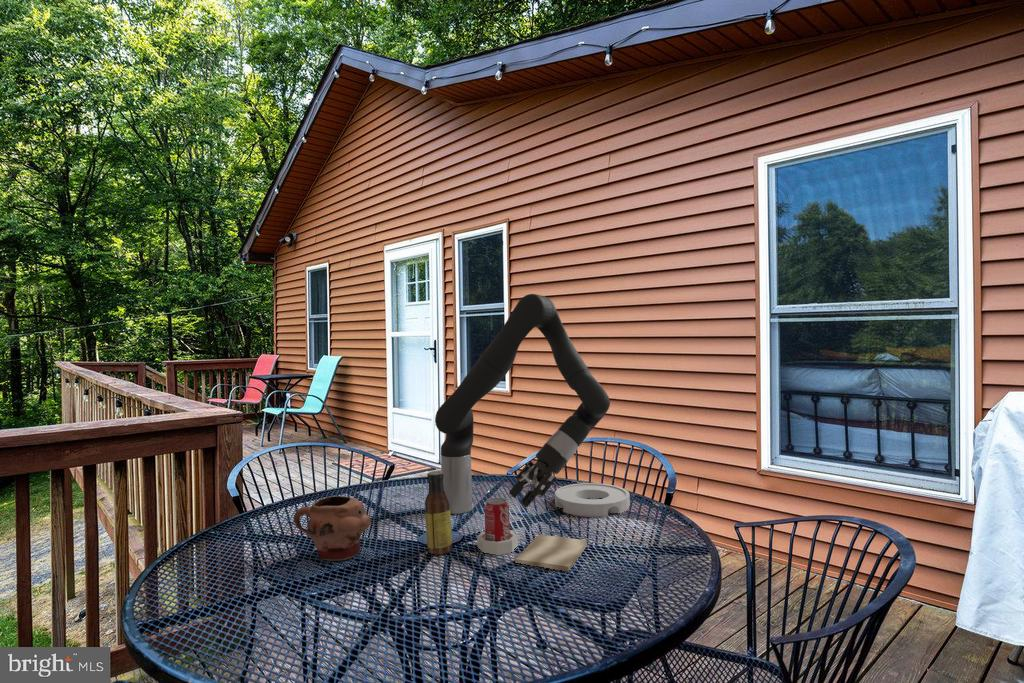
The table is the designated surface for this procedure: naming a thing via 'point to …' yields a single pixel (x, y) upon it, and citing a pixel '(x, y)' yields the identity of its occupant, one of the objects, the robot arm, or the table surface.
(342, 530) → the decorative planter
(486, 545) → the can holder
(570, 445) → the robot arm
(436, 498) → the sauce bottle
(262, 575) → the table surface
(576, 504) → the ashtray
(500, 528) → the beverage can
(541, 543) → the birch board
